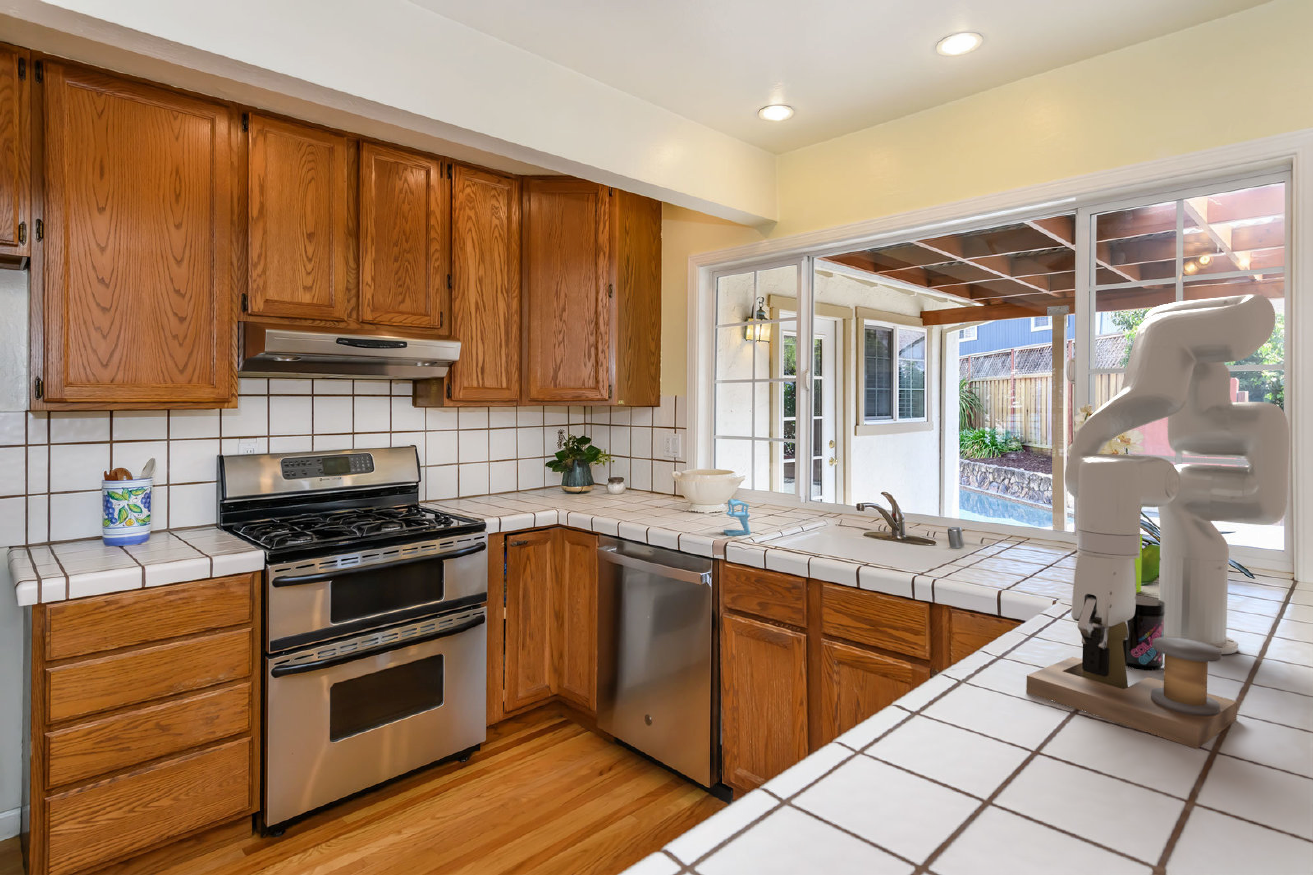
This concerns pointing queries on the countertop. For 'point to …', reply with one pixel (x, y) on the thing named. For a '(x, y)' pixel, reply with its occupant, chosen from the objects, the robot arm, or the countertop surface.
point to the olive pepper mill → (1113, 657)
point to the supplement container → (1145, 634)
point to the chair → (741, 515)
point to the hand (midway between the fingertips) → (1104, 667)
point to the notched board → (1148, 694)
